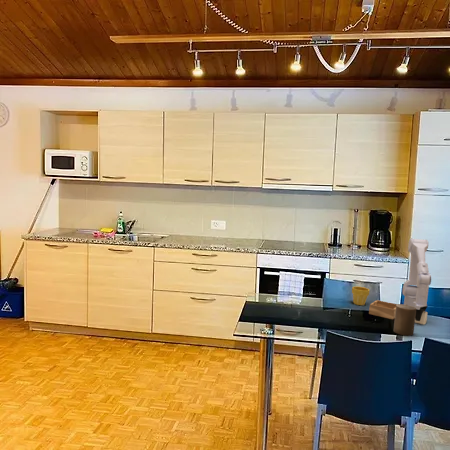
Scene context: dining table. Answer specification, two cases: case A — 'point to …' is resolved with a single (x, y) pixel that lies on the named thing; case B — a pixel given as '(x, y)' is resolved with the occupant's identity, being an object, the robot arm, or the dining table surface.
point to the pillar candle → (404, 319)
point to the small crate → (423, 318)
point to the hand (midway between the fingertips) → (418, 319)
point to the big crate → (383, 309)
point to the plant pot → (360, 295)
